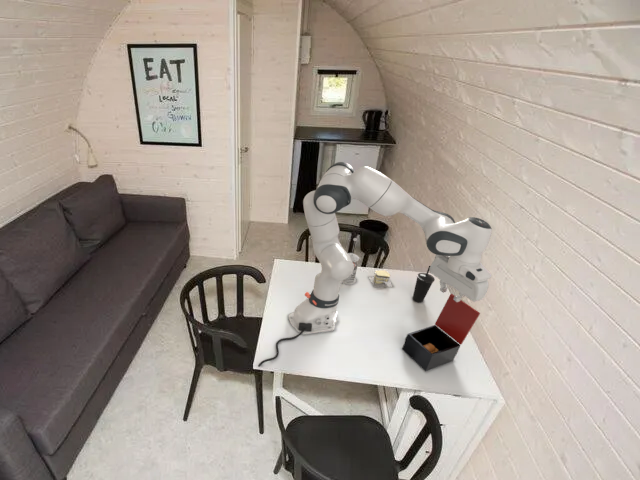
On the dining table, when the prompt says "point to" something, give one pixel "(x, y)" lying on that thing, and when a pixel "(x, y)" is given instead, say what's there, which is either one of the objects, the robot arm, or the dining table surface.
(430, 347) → the bread roll
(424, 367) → the black hinged box
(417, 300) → the drinking cup
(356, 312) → the dining table surface
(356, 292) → the dining table surface
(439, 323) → the red box lid
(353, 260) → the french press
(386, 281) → the stacked layers on plate
